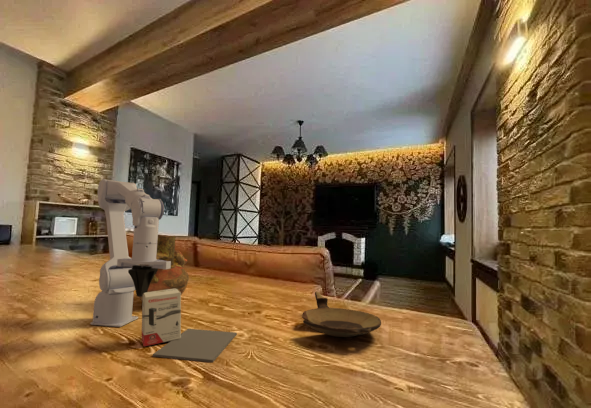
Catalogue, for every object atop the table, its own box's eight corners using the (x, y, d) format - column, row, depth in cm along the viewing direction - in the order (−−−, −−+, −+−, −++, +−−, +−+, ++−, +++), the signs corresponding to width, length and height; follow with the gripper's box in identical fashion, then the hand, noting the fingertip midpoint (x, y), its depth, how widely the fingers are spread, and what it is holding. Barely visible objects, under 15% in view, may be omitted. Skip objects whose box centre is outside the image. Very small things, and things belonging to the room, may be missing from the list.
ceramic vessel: (201, 295, 117) (205, 234, 119) (164, 315, 91) (169, 236, 93) (163, 292, 119) (167, 233, 121) (116, 310, 94) (122, 234, 96)
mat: (152, 356, 63) (152, 354, 63) (188, 330, 79) (188, 328, 79) (212, 362, 61) (213, 359, 62) (236, 334, 77) (236, 332, 77)
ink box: (143, 347, 67) (144, 296, 68) (141, 340, 71) (141, 292, 72) (181, 338, 72) (181, 290, 73) (177, 333, 76) (177, 287, 77)
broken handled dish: (299, 349, 70) (300, 317, 70) (302, 312, 99) (303, 290, 100) (392, 355, 68) (392, 322, 69) (367, 315, 98) (367, 293, 99)
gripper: (178, 243, 78) (175, 294, 77) (132, 241, 81) (128, 290, 80) (162, 245, 71) (158, 300, 70) (112, 242, 74) (108, 296, 73)
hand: (141, 295), depth 74 cm, fingers closed
